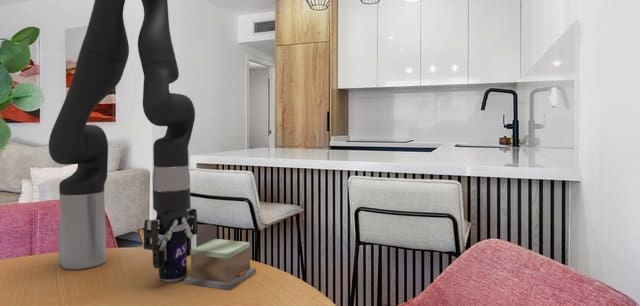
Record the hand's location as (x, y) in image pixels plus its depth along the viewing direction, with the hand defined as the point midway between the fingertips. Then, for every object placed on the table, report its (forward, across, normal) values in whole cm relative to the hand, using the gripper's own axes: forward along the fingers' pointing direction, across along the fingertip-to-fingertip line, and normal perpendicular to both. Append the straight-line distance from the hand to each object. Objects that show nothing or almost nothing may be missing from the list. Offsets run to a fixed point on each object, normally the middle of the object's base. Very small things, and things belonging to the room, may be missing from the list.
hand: (173, 261), depth 88 cm
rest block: (+4, -4, +9) cm, 11 cm away
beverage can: (+4, 0, 0) cm, 4 cm away
